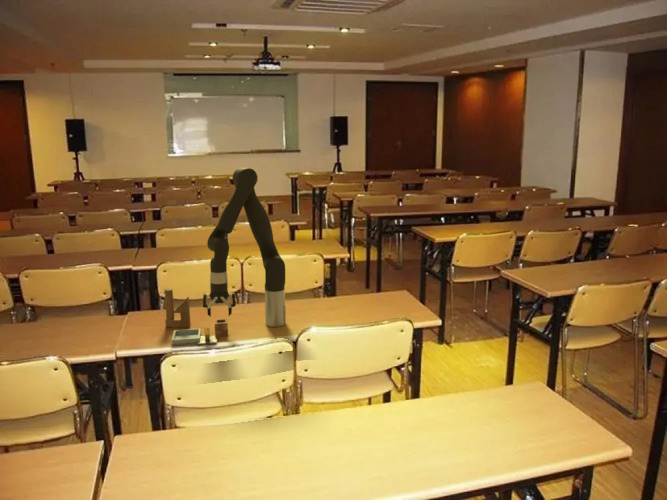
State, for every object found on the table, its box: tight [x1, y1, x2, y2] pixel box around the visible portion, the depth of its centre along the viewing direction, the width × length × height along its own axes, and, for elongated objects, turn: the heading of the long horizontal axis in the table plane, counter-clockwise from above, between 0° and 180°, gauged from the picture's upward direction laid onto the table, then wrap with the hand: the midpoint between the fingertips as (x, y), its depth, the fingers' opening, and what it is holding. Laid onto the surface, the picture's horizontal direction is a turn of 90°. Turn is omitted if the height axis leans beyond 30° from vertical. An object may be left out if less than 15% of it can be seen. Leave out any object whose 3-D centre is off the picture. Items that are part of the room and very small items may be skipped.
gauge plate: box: [197, 327, 218, 347], centre depth 243 cm, size 8×8×6 cm
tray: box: [171, 328, 202, 346], centre depth 246 cm, size 12×12×2 cm
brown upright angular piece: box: [164, 288, 191, 329], centre depth 260 cm, size 4×11×18 cm, turn 90°
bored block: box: [214, 318, 229, 337], centre depth 252 cm, size 6×6×6 cm
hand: (219, 315), depth 251 cm, fingers open, 8 cm apart
